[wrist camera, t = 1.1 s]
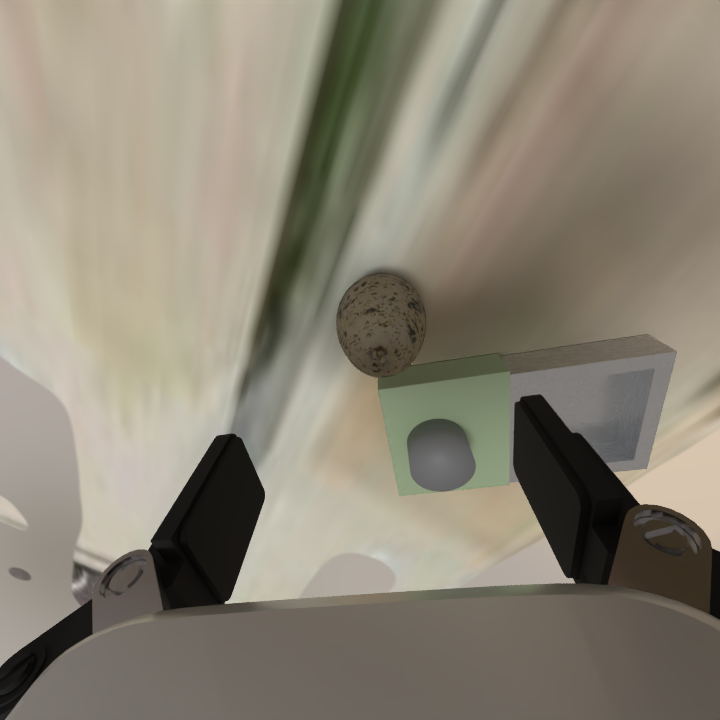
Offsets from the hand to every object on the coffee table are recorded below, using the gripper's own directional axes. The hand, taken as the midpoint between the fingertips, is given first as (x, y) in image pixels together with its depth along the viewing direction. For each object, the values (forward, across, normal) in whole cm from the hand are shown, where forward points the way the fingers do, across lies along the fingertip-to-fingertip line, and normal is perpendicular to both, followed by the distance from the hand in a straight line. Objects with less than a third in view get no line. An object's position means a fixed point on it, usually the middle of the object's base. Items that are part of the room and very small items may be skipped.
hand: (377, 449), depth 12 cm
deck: (+17, -4, +12) cm, 21 cm away
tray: (+16, -15, +12) cm, 25 cm away
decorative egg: (+17, 0, 0) cm, 17 cm away
